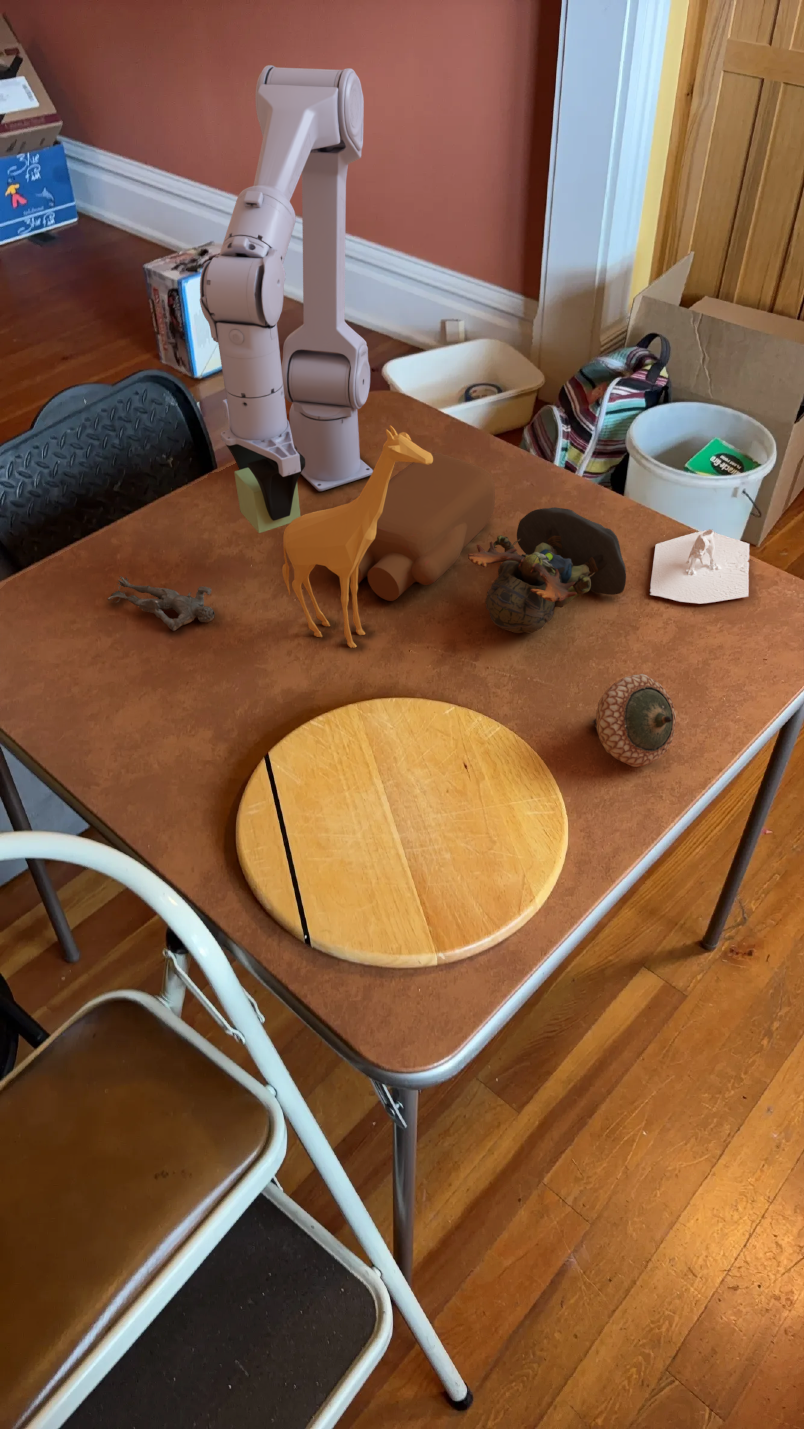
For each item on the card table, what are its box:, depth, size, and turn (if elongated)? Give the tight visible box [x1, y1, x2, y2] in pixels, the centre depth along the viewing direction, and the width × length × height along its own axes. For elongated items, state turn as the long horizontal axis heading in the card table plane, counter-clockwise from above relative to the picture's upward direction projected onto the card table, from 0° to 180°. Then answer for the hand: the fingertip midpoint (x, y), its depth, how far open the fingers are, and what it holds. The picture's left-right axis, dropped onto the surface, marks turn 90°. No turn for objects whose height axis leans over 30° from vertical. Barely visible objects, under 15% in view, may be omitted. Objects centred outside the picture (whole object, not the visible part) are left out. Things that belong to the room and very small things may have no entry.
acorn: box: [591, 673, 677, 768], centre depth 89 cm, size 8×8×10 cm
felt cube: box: [234, 468, 301, 534], centre depth 106 cm, size 5×5×5 cm
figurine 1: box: [107, 575, 216, 632], centre depth 106 cm, size 6×4×12 cm
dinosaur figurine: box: [649, 529, 750, 605], centre depth 109 cm, size 15×12×6 cm
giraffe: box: [281, 424, 433, 649], centre depth 95 cm, size 16×4×25 cm, turn 67°
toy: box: [337, 452, 496, 602], centre depth 112 cm, size 15×8×20 cm
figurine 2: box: [467, 506, 627, 634], centre depth 104 cm, size 14×10×18 cm
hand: (269, 504), depth 107 cm, fingers closed on felt cube, 5 cm apart
